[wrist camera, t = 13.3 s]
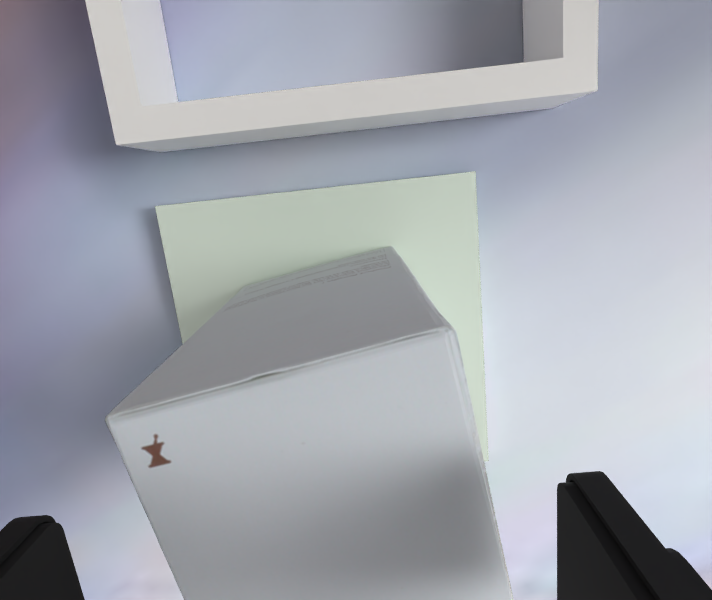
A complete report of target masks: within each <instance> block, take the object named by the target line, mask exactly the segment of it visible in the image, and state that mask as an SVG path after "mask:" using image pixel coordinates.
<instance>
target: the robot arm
mask: <svg viewBox="0 0 712 600" xmlns="http://www.w3.org/2000/svg"><path fill="white" fill-rule="evenodd" d="M0 600H85V599H84V596H83V593H82V590H81V586H80V583H79V580H78V576H77V573H76V570H75V566H74V563H73V560H72V557H71V553H70V550H69V547H68V543H67V540H66V537H65V533H64V530H63V528H62V526H61V525H60V524H59V523H56V522H55V520H54V519H53V518H52V517H51V516H48V515H43V516H30V517H19V518H16V519H13V520H12V521H11V522H9V523H8V524H7V525H6V526H5V527H4V528H3V529H2V530H1V531H0ZM557 600H712V590H711V589H710V588H709V586H708V585H707V584H706V583H705V582H704V580H703V579H702V578H701V577H700V576H699V574H698V573H697V572H696V571H695V570H694V568H693V567H692V566H691V565H690V564H689V563H688V561H687V560H686V559H685V558H684V557H683V556H682V555H681V554H680V553H679V552H677V551H675V550H673V549H671V548H667V549H665V547H664V546H663V545H662V544H661V542H660V541H659V540H658V539H657V538H656V536H655V535H654V534H653V533H652V531H651V530H650V529H649V528H648V526H647V525H646V524H645V523H644V521H643V520H642V519H641V518H640V517H639V515H638V514H637V513H636V512H635V510H634V509H633V508H632V507H631V505H630V504H629V503H628V502H627V500H626V499H625V498H624V497H623V496H622V494H621V493H620V492H619V491H618V489H617V488H616V487H615V486H614V484H613V483H612V482H611V481H610V479H609V478H608V477H607V476H606V475H605V474H604V473H603V472H600V471H596V472H584V473H571V474H568V476H567V478H566V483H559V484H558V487H557Z"/></svg>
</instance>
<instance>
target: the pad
mask: <svg viewBox="0 0 712 600" xmlns="http://www.w3.org/2000/svg"><path fill="white" fill-rule="evenodd" d="M155 209H156V214H157V219H158V224H159V229H160V234H161V239H162V244H163V249H164V254H165V259H166V264H167V269H168V274H169V279H170V284H171V289H172V294H173V299H174V303H175V308H176V313H177V318H178V323H179V328H180V333H181V338H182V343H185V342H186V341H187V340H188V339H189V338H190V337H191V336H192V335H193V334H194V333H195V332H196V331H197V330H198V329H199V328H200V327H201V326H203V325H204V324H205V323H206V322H207V321H208V320H209V319H210V318H211V317H212V316H213V315H214V314H215V313H217V312H218V311H219V310H220V309H221V308H222V307H223V306H224V305H225V304H226V303H227V302H228V301H229V300H230V299H231V298H233V297H234V296H235V295H236V294H237V293H238V292H239V291H240V290H241V289H242V288H243V287H244V286H247V285H251V284H254V283H258V282H261V281H264V280H268V279H272V278H275V277H279V276H282V275H286V274H289V273H293V272H296V271H300V270H303V269H307V268H310V267H314V266H317V265H321V264H325V263H328V262H332V261H335V260H339V259H343V258H346V257H350V256H354V255H357V254H361V253H365V252H369V251H373V250H377V249H381V248H385V247H389V246H392V247H393V248H394V249H395V250H396V251H397V253H398V254H399V255H400V256H401V258H402V259H403V260H404V262H405V263H406V265H407V266H408V267H409V269H410V270H411V272H412V273H413V275H414V276H415V277H416V279H417V281H418V282H419V284H420V285H421V287H422V288H423V289H424V291H425V292H426V294H427V295H428V297H429V298H430V300H431V301H432V303H433V304H434V305H435V307H436V308H437V309H438V311H439V312H440V313H441V315H442V316H443V317H444V318H445V319H446V320H447V321H448V322H449V323H450V324H451V326H452V327H453V328H454V329H455V330H456V332H457V336H458V341H459V346H460V351H461V355H462V360H463V365H464V369H465V374H466V379H467V383H468V388H469V392H470V397H471V402H472V406H473V411H474V416H475V420H476V425H477V430H478V434H479V439H480V444H481V449H482V454H483V459H484V461H489V460H488V437H487V415H486V393H485V371H484V349H483V327H482V304H481V282H480V260H479V238H478V216H477V194H476V171H475V172H465V173H456V174H447V175H438V176H429V177H420V178H410V179H401V180H392V181H383V182H374V183H364V184H355V185H346V186H337V187H328V188H318V189H309V190H300V191H291V192H282V193H272V194H263V195H254V196H245V197H236V198H226V199H217V200H208V201H199V202H190V203H180V204H171V205H162V206H155Z"/></svg>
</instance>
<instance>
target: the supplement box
mask: <svg viewBox="0 0 712 600" xmlns="http://www.w3.org/2000/svg"><path fill="white" fill-rule="evenodd" d="M105 422H106V424H107V426H108V428H109V430H110V432H111V435H112V437H113V439H114V441H115V443H116V445H117V447H118V449H119V452H120V454H121V457H122V459H123V462H124V464H125V467H126V469H127V471H128V473H129V476H130V478H131V480H132V483H133V485H134V487H135V490H136V492H137V494H138V496H139V499H140V501H141V503H142V505H143V508H144V510H145V512H146V514H147V517H148V519H149V521H150V523H151V526H152V528H153V530H154V532H155V535H156V537H157V539H158V542H159V544H160V546H161V549H162V551H163V553H164V555H165V557H166V559H167V562H168V564H169V566H170V568H171V571H172V573H173V575H174V577H175V580H176V582H177V584H178V587H179V589H180V591H181V593H182V596H183V598H184V600H513V595H512V590H511V586H510V581H509V576H508V572H507V567H506V562H505V558H504V553H503V549H502V544H501V540H500V535H499V531H498V526H497V521H496V516H495V512H494V507H493V502H492V497H491V493H490V488H489V483H488V478H487V473H486V468H485V464H484V459H483V454H482V449H481V444H480V439H479V434H478V430H477V425H476V420H475V416H474V411H473V406H472V402H471V397H470V392H469V388H468V383H467V379H466V374H465V369H464V365H463V360H462V355H461V351H460V346H459V341H458V336H457V332H456V330H455V329H454V328H453V327H452V326H451V324H450V323H449V322H448V321H447V320H446V319H445V318H444V317H443V316H442V315H441V313H440V312H439V311H438V309H437V308H436V307H435V305H434V304H433V303H432V301H431V300H430V298H429V297H428V295H427V294H426V292H425V291H424V289H423V288H422V287H421V285H420V284H419V282H418V281H417V279H416V277H415V276H414V275H413V273H412V272H411V270H410V269H409V267H408V266H407V265H406V263H405V262H404V260H403V259H402V258H401V256H400V255H399V254H398V253H397V251H396V250H395V249H394V248H393V247H392V246H389V247H385V248H381V249H377V250H373V251H369V252H365V253H361V254H357V255H354V256H350V257H346V258H343V259H339V260H335V261H332V262H328V263H325V264H321V265H317V266H314V267H310V268H307V269H303V270H300V271H296V272H293V273H289V274H286V275H282V276H279V277H275V278H272V279H268V280H264V281H261V282H258V283H254V284H251V285H247V286H244V287H243V288H242V289H241V290H240V291H239V292H238V293H237V294H236V295H235V296H234V297H233V298H231V299H230V300H229V301H228V302H227V303H226V304H225V305H224V306H223V307H222V308H221V309H220V310H219V311H218V312H217V313H215V314H214V315H213V316H212V317H211V318H210V319H209V320H208V321H207V322H206V323H205V324H204V325H203V326H201V327H200V328H199V329H198V330H197V331H196V332H195V333H194V334H193V335H192V336H191V337H190V338H189V339H188V340H187V341H186V342H185V343H183V344H182V345H181V346H180V347H179V348H178V349H177V350H176V351H175V352H174V353H173V354H172V355H171V356H170V357H168V358H167V359H166V360H165V361H164V362H163V363H162V364H161V365H160V366H159V367H158V368H157V369H156V370H154V371H153V372H152V373H151V374H150V375H149V376H148V377H147V378H146V379H145V380H144V381H143V382H141V383H140V384H139V385H138V386H137V387H136V388H135V389H134V390H133V391H132V392H131V393H130V394H129V395H127V396H126V397H125V398H124V399H123V400H122V401H121V402H120V403H119V404H118V405H117V406H116V407H115V408H114V409H113V410H112V411H111V412H110V413H109V414H108V415H107V416H106V418H105Z"/></svg>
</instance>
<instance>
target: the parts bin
mask: <svg viewBox="0 0 712 600" xmlns="http://www.w3.org/2000/svg"><path fill="white" fill-rule="evenodd" d="M85 2H86V7H87V11H88V16H89V21H90V25H91V30H92V35H93V39H94V44H95V49H96V53H97V58H98V63H99V67H100V72H101V77H102V82H103V86H104V91H105V96H106V100H107V105H108V110H109V114H110V119H111V124H112V128H113V133H114V138H115V142H116V145H119V146H125V147H131V148H137V149H143V150H149V151H155V152H168V151H177V150H186V149H195V148H204V147H213V146H222V145H231V144H240V143H249V142H258V141H267V140H276V139H285V138H294V137H302V136H311V135H320V134H329V133H338V132H347V131H356V130H365V129H374V128H383V127H392V126H401V125H410V124H419V123H428V122H436V121H445V120H454V119H463V118H472V117H481V116H490V115H499V114H508V113H517V112H526V111H535V110H544V109H553V108H555V107H558V106H560V105H563V104H565V103H568V102H570V101H573V100H575V99H578V98H580V97H583V96H586V95H588V94H591V93H593V92H596V91H597V88H598V8H599V0H523V47H524V63H515V64H506V65H497V66H489V67H480V68H471V69H463V70H454V71H445V72H436V73H428V74H419V75H410V76H402V77H393V78H384V79H375V80H367V81H358V82H349V83H341V84H332V85H323V86H315V87H306V88H297V89H288V90H280V91H271V92H262V93H254V94H245V95H236V96H227V97H219V98H210V99H201V100H193V101H184V102H178V98H177V92H176V87H175V81H174V76H173V70H172V65H171V59H170V54H169V48H168V43H167V37H166V31H165V26H164V20H163V15H162V9H161V4H160V0H85Z"/></svg>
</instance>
